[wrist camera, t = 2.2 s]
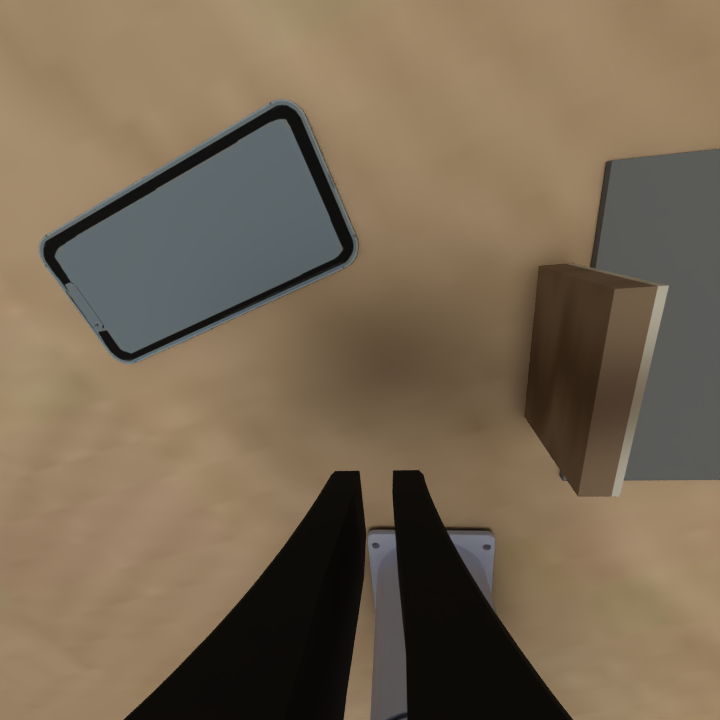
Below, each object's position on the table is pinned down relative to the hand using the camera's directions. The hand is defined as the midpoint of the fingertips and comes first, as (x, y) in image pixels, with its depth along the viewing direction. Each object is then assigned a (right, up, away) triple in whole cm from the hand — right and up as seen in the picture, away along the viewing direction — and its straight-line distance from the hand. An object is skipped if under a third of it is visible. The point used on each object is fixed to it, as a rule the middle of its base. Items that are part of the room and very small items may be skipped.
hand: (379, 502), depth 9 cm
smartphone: (-8, +9, +9) cm, 15 cm away
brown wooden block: (+9, +4, +9) cm, 13 cm away
